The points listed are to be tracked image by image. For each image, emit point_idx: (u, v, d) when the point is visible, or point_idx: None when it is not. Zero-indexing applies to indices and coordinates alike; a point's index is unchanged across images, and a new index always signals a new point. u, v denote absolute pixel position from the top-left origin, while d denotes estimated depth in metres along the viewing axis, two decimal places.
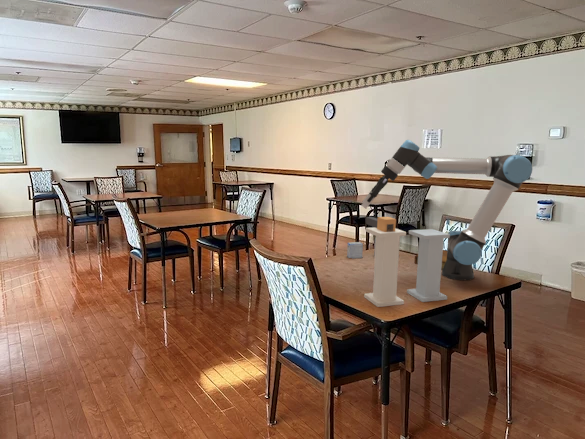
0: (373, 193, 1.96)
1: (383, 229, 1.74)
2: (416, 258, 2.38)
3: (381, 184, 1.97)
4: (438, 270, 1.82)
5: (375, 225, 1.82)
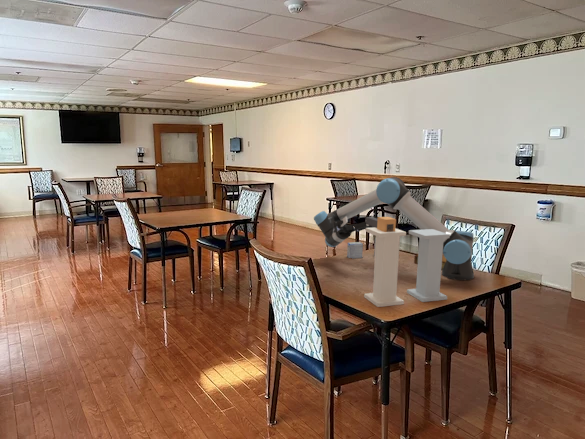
0: (333, 226, 2.05)
1: (383, 229, 1.74)
2: (416, 258, 2.39)
3: None
4: (438, 270, 1.82)
5: (375, 225, 1.82)
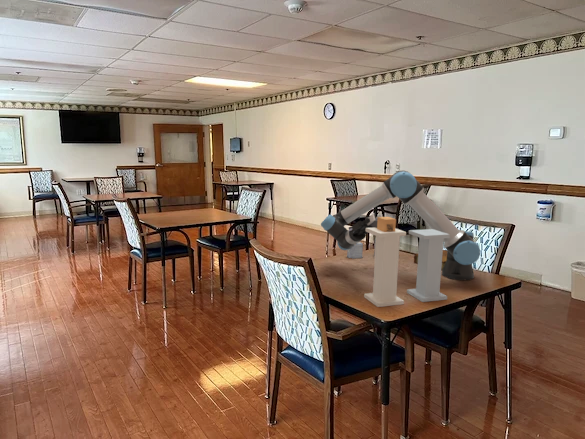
0: (359, 225, 1.89)
1: (383, 229, 1.74)
2: (415, 257, 2.40)
3: (353, 228, 1.94)
4: (438, 270, 1.82)
5: (375, 225, 1.82)
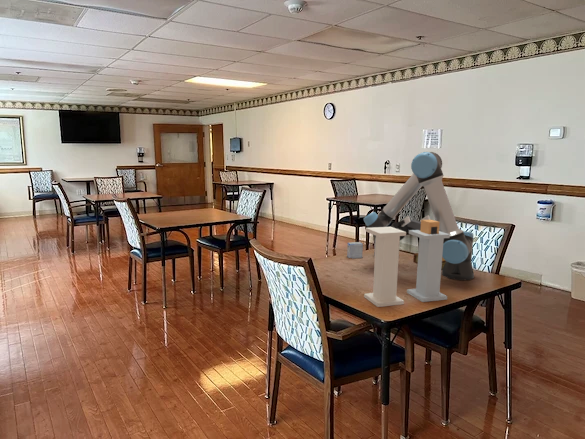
0: (394, 226, 1.95)
1: (427, 231, 1.81)
2: (415, 257, 2.41)
3: None
4: (438, 270, 1.82)
5: (418, 227, 1.89)
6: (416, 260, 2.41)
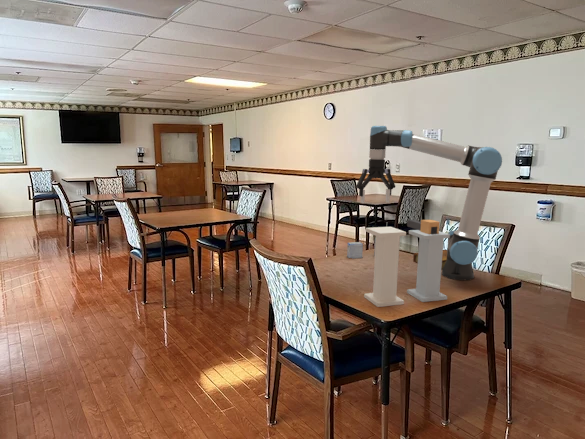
0: (356, 186, 2.06)
1: (427, 231, 1.81)
2: (415, 256, 2.42)
3: (362, 175, 2.06)
4: (438, 270, 1.82)
5: (418, 227, 1.89)
6: (416, 260, 2.42)
